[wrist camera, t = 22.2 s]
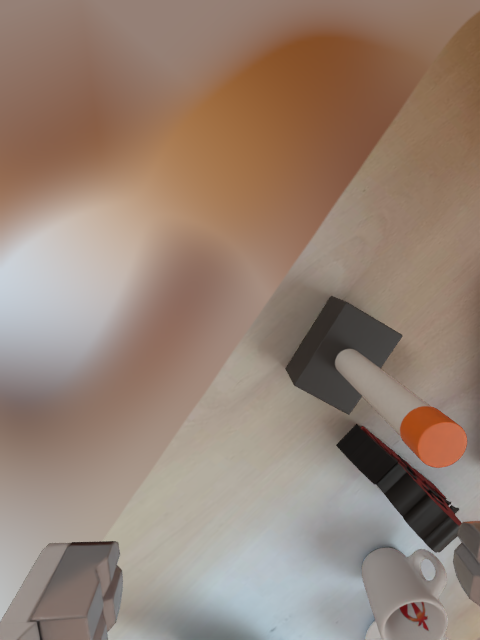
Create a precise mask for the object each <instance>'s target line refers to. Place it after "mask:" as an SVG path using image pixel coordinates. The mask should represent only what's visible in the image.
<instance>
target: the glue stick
mask: <svg viewBox="0 0 480 640" xmlns="http://www.w3.org/2000/svg"><path fill="white" fill-rule="evenodd" d="M335 366H336V369H337V370H338V371H339V372H340V373H341V375H342V376H343V377H344V378H345V379H346V380H347V381H348V382H349V383H350V384H351V385H352V386H353V387H354V388H355V389H356V390H357V391H358V392H359V393H360V394H361V395H362V396H363V398H364V399H365V400H366V401H367V402H368V403H369V404H370V405H371V406H372V407H373V408H374V409H375V410H376V411H377V412H378V413H379V414H380V415H381V416H382V417H383V418H384V419H385V421H386V422H387V423H388V424H389V425H390V426H391V427H392V428H393V429H394V430H395V431H396V432H397V433H398V434H399V435H400V436H401V438H402V440H403V441H404V443H405V444H406V445H407V446H408V447H409V448H410V449H411V450H412V451H413V452H414V453H415V454H416V455H417V456H418V457H419V458H420V460H421V461H422V462H423V463H425V464H426V465H428V466H431V467H436V468H441V467H446V466H449V465H451V464H453V463H455V462H456V461H457V460H459V459H460V458H461V456H462V455H463V453H464V452H465V449H466V446H467V436H466V433H465V431H464V430H463V428H462V427H461V426H459V425H458V424H457V423H455V422H454V421H453V420H451V419H450V418H449V417H447V416H446V415H445V414H443V413H442V412H441V411H439V410H438V409H436V408H434V407H431V406H430V405H429V404H427V403H426V402H425V401H423V400H422V399H420V398H419V397H418V396H416V395H415V394H414V393H412V392H411V391H410V390H408V389H407V388H406V387H404V386H403V385H402V384H400V383H399V382H398V381H396V380H395V379H394V378H392V377H391V376H390V375H388V374H387V373H386V372H384V371H383V370H382V369H380V368H379V367H378V366H376V365H375V364H374V363H372V362H371V361H370V360H368V359H367V358H366V357H364V356H363V355H362V354H360V353H359V352H358V351H356V350H354V349H345V350H343V351H341V352H340V353H339V354H338V355H337V357H336V360H335Z"/></svg>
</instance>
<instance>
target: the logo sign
mask: <svg viewBox="0 0 480 640" xmlns="http://www.w3.org/2000/svg"><path fill="white" fill-rule="evenodd" d="M336 446H337V447H338V448H339V449H340V450H341V451H342V452H343V453H344V454H345V455H346V457H347V458H348V459H349V460H350V461H351V462H352V463H353V464H354V465H355V466H356V467H357V468H358V469H359V470H360V471H361V472H362V473H363V474H364V475H365V476H366V477H367V478H368V479H369V480H370V481H371V482H372V483H374V484H376V485H377V486H378V487H379V488H380V489H381V491H382V492H383V493H384V494H385V495H386V497H387V498H388V499H389V501H390V502H391V503H392V505H393V506H394V507H395V508H396V509H397V511H398V512H399V513H400V514H401V515H402V516H403V518H404V520H405V521H406V522H407V524H408V525H409V526H410V527H411V528H412V529H413V530H414V531H415V532H416V534H417V535H418V536H419V537H420V538H421V539H422V540H423V541H424V542H425V543H426V544H427V545H428V546H429V547H430V548H431V549H432V550H433V551H434V552H441V551H442V550H443V549H444V548H445V547H446V546H447V545H448V544H449V543H450V542H451V541H452V540H454V539H455V538H456V537H457V533H458V528H459V526H460V525H461V524H462V523H461V522H460V521H459V519H458V518H457V517H456V516H455V513H456V512H457V511H458V510H459V508H455V507H453V506H452V505H451V506H450V507H449V506H448V505H449V504H451V502H449V501H447V500H446V497H445V496H444V495H443V494H442V493H441V492H440V491H439V490H438V489H437V487H436V486H435V485H434V484H432V483H431V482H430V481H429V480H428V479H426V478H425V477H424V476H423V475H422V474H420V473H419V472H418V471H417V470H416V469H413V468H412V467H411V466H410V465H409V464H408V463H407V462H406V461H405V460H403V459H402V458H401V457H400V456H399V455H397V454H396V453H395V452H394V451H392V450H391V449H390V448H389V447H387V446H386V445H385V444H384V443H382V442H381V441H380V440H379V439H378V438H376V437H375V436H374V435H373V434H372V433H370V432H369V431H368V430H367V429H366V428H365V427H363V426H362V427H361V428H360V427H359V426H358V425H357V424H356V425H355V426H354V427H353V428H352V429H351V430H350V431H349V432H348V433H347V435H346V436H345V437H344V438H343V439H342V440H341V441H340V442H339V443H338V444H337V445H336Z"/></svg>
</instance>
